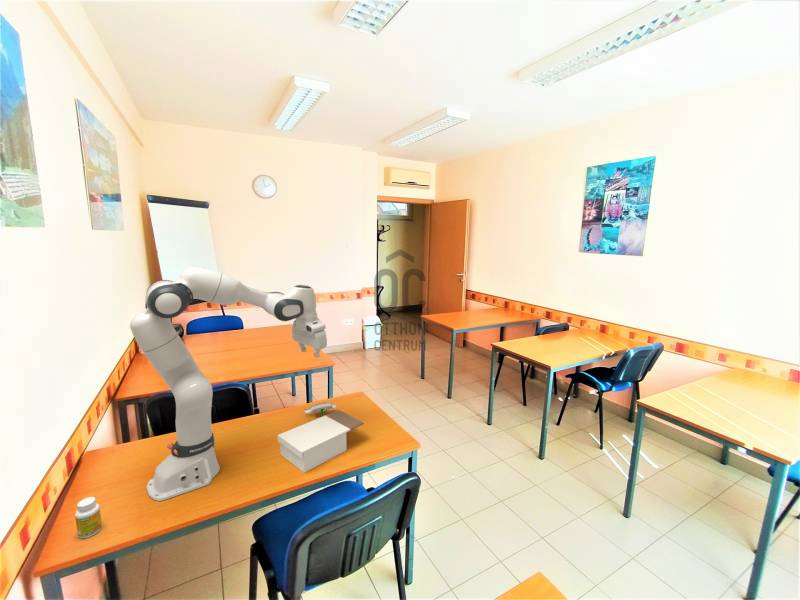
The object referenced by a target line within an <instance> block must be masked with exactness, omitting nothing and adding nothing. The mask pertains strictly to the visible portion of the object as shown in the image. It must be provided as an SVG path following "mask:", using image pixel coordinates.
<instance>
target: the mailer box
mask: <svg viewBox="0 0 800 600" xmlns="http://www.w3.org/2000/svg"><path fill="white" fill-rule="evenodd" d="M279 447H280V455H281V456H282V457H283V458H285V459H286V460H287V461H288V462H290V463H291V464H292V465H294V466H295V467H296V468H297V469H298V470H300V471H301V472H303V473H306V472H309V471H310V470H312V469H314V468H316V467H318V466H320V465H322V464H323V463H325V462H327V461H330V460H331V459H333V458H335V457H337V456H339V455H340V454H342V453H345V452H346V451H347V450H348V449H347V432H346V433H344V434H342V435H340V436H338V437H336V438H334V439H332V440H330V441H328V442H325V443H323V444H321V445H319V446H317V447H315V448H313V449H311V450H309V451H307V452H305V453H303V459H301V458H300V457H299V456H297V455H296V454H295V453H293V452H292V451H291V450H289V449H288V448H286V447H285V446H284V445H282V444H281V443H280V442H279Z"/></svg>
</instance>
